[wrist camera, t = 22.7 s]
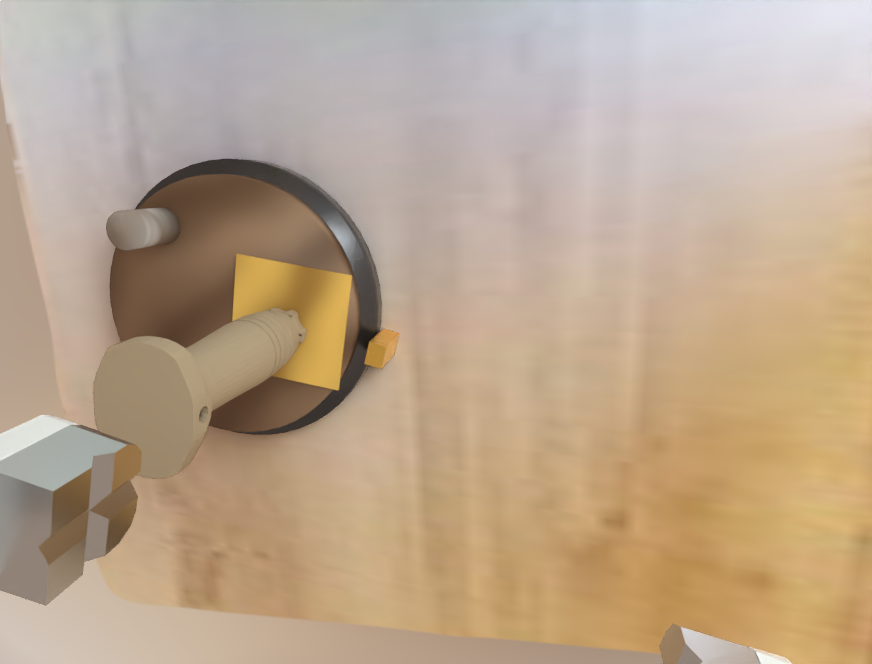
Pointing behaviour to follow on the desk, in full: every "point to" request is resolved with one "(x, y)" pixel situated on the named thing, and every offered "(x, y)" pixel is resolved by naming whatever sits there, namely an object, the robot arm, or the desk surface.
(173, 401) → the handle
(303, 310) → the disc
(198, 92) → the desk surface
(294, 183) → the wheel base
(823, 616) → the desk surface
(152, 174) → the desk surface
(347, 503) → the desk surface
